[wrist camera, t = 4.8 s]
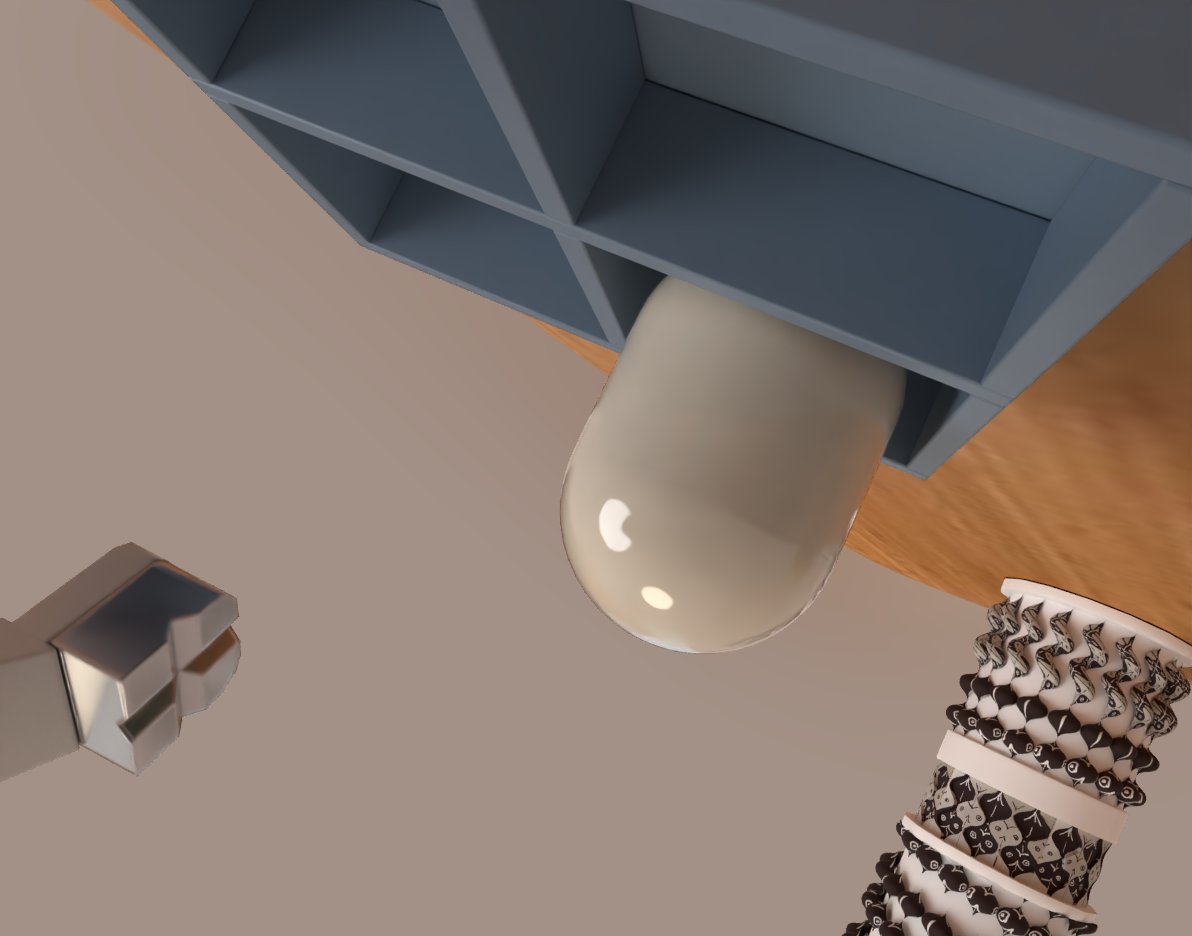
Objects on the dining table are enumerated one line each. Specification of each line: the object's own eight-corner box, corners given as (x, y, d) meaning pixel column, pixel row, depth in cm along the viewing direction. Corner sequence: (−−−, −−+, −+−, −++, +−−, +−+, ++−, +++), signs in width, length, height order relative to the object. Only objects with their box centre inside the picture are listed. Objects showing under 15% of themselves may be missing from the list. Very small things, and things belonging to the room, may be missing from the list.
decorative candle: (955, 557, 46) (736, 1068, 44) (1152, 614, 38) (896, 1240, 36) (1053, 619, 51) (860, 1082, 48) (1245, 681, 43) (1025, 1236, 41)
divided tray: (-48, -554, 10) (-197, -299, 9) (1428, -210, 7) (1269, 173, 6) (416, 131, 23) (359, 245, 22) (983, 348, 20) (925, 481, 20)
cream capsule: (652, 150, 17) (458, 556, 16) (918, 185, 14) (695, 681, 13) (758, 280, 21) (605, 612, 20) (983, 330, 18) (813, 719, 17)
